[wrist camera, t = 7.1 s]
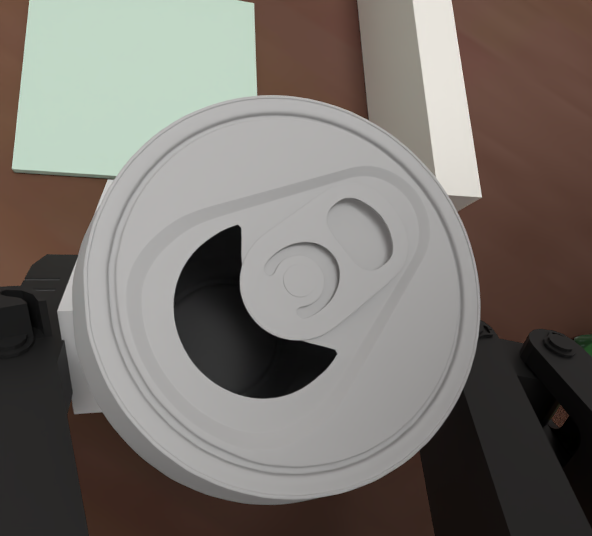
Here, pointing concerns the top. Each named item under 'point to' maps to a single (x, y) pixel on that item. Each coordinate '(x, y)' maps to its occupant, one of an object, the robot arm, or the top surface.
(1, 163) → the top surface
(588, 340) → the chalk box
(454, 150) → the corner arena
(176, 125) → the beverage can
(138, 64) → the pad
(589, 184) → the top surface
